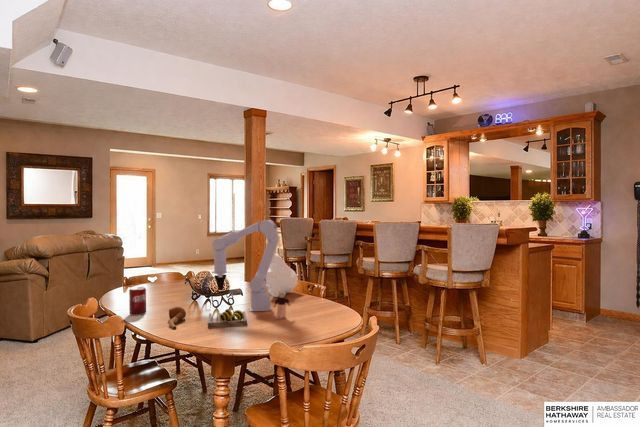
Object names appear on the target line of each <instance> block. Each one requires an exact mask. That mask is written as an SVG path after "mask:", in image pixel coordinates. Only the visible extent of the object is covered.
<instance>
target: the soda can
mask: <svg viewBox="0 0 640 427" xmlns="http://www.w3.org/2000/svg"><path fill="white" fill-rule="evenodd" d="M128 294H129V298H128V301H129V310H128V311H129V314H130V316H142V315H145V314H147V289H146V287H144V286H143V287H142V286H141V287H137V286H136V287H131V288H129V293H128Z"/></svg>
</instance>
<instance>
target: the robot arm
mask: <svg viewBox="0 0 640 427" xmlns="http://www.w3.org/2000/svg"><path fill="white" fill-rule="evenodd" d="M254 232H259V233H262V234H263V235H264V236H265V238H266V240H267V243H266V246H265V249H264V252H263V254H262V258H261V259H260V263H259V266H258V268H257V271H256V273H255V275H254V277H253V279H252V280H251V281H250V282H249V288H250V306H249V310H250V312H265V311H271V310H272V309H271V306H272V304H271V293H270V291H269V290H266V287H267V284H266V283H267V282H266V278H267V273H268V271H270V264H271V261H272V259H273V256H274V253H276V250H277V247H278V244H279V242H280V237H279V232H278V226H277V225H276V223H275V221H273V220H272V219H267V220H266V219H265V220H260V221H258V222H255V223H253V224H251V225H249V226H245V227H244V228H243V229H240V230H239V231H236V230H229V232H228V233H227V234H222V235H220V237H217V238H215V239H214V240H213V241H212V248H213V249H214V250H213V261H214V263H213V267H214V268H213V270H212V271H211V273H212V274H215V275H213V276H214V279H215V282H216V285H217V291H223V290H224V285H225V280H226V278H227V247H230V246H232V245H234V244H237V243H238V242H240V240H241V238H243V237H245V236H247V235H249V234H252V233H254Z"/></svg>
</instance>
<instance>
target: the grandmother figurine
mask: <svg viewBox="0 0 640 427" xmlns="http://www.w3.org/2000/svg"><path fill="white" fill-rule="evenodd" d="M286 294H287V293H285V291H283V290H280V291H279V292H278V295H279V296H278V297H279V298H278V297H277V299H275V301H274V303H273V306H272V307H273V308H276V306H277V309H276V311H277V312H276V317H275V319H276V320H281V319H284V320H285V319H287V317H286V311H287V309H286V308H287V307H286V304H287V305H288V306H291V303H290V301H289V300H290V299H287V298H286V297H285V296H286ZM277 304H278V305H277Z"/></svg>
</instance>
